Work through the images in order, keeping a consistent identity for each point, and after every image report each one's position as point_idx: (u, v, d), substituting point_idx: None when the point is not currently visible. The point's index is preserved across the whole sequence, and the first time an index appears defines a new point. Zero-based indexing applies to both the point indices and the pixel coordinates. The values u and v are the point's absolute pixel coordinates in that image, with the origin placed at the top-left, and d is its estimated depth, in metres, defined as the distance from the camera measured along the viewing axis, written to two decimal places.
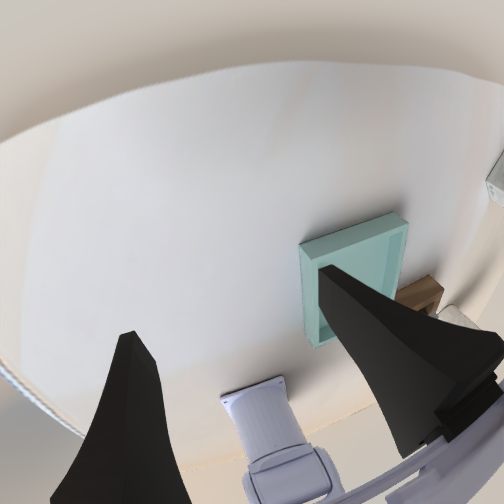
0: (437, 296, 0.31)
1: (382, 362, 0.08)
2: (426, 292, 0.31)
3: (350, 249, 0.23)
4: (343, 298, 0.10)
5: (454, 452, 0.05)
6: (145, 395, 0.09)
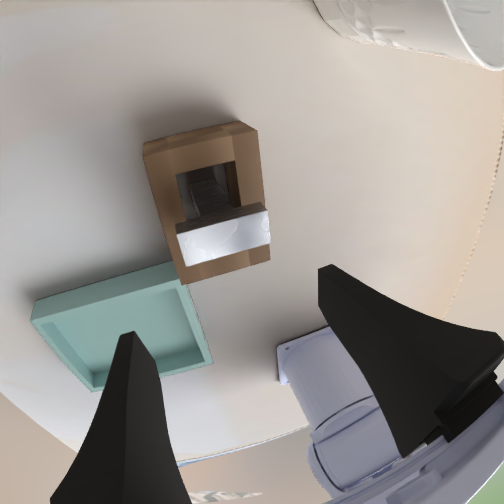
0: (162, 173, 0.14)
1: (382, 362, 0.08)
2: None
3: (75, 370, 0.20)
4: (343, 298, 0.10)
5: (454, 452, 0.05)
6: (145, 395, 0.09)
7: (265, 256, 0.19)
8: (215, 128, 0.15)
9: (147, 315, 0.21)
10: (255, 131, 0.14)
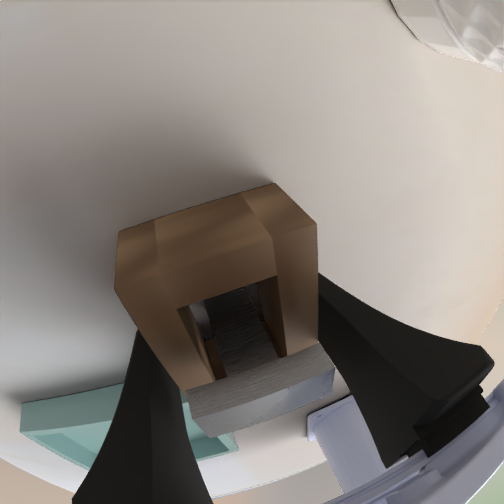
0: (152, 309, 0.08)
1: (362, 372, 0.08)
2: None
3: (82, 465, 0.15)
4: (324, 306, 0.10)
5: (454, 452, 0.05)
6: (165, 390, 0.09)
7: None
8: (236, 204, 0.10)
9: None
10: (313, 225, 0.08)
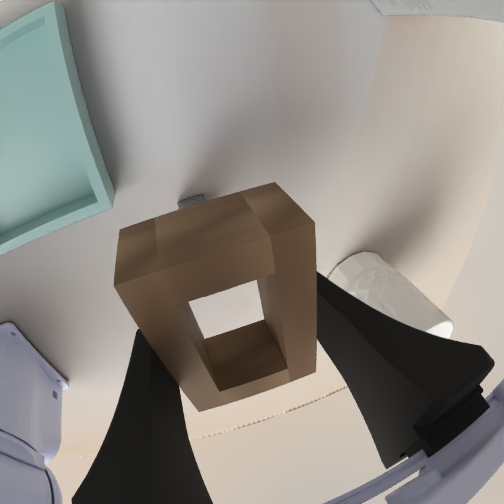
0: (152, 306, 0.08)
1: (363, 372, 0.08)
2: None
3: None
4: (324, 306, 0.10)
5: (454, 452, 0.05)
6: (165, 390, 0.09)
7: (310, 370, 0.13)
8: (236, 203, 0.10)
9: (37, 164, 0.13)
10: (311, 223, 0.08)
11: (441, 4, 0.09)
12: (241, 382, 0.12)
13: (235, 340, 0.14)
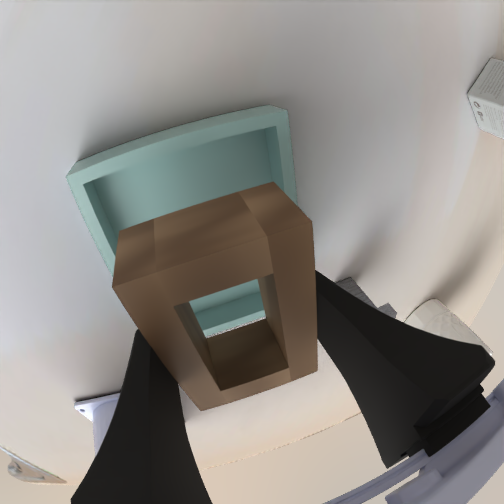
0: (150, 307, 0.08)
1: (363, 372, 0.08)
2: None
3: (144, 156, 0.11)
4: (325, 306, 0.10)
5: (454, 452, 0.05)
6: (164, 390, 0.09)
7: (311, 369, 0.13)
8: (234, 203, 0.10)
9: None
10: (309, 223, 0.08)
11: None
12: (243, 381, 0.12)
13: (236, 339, 0.14)
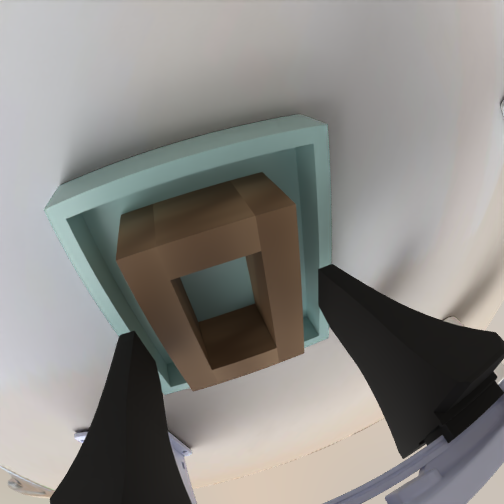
0: (149, 280, 0.09)
1: (382, 362, 0.08)
2: None
3: (144, 183, 0.09)
4: (343, 298, 0.10)
5: (454, 452, 0.05)
6: (145, 395, 0.09)
7: (298, 351, 0.14)
8: (226, 190, 0.11)
9: (247, 299, 0.15)
10: (293, 205, 0.09)
11: None
12: (233, 360, 0.13)
13: (227, 322, 0.15)
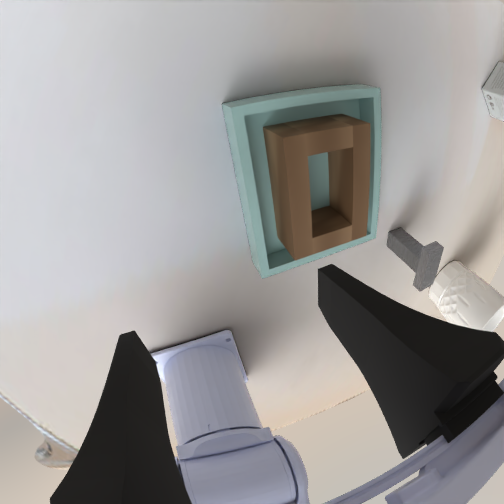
0: (297, 154, 0.15)
1: (382, 362, 0.08)
2: (281, 176, 0.17)
3: (293, 103, 0.15)
4: (343, 298, 0.10)
5: (454, 452, 0.05)
6: (145, 395, 0.09)
7: (363, 232, 0.20)
8: (327, 118, 0.17)
9: (325, 201, 0.21)
10: (368, 123, 0.15)
11: None
12: (325, 232, 0.19)
13: (314, 215, 0.21)
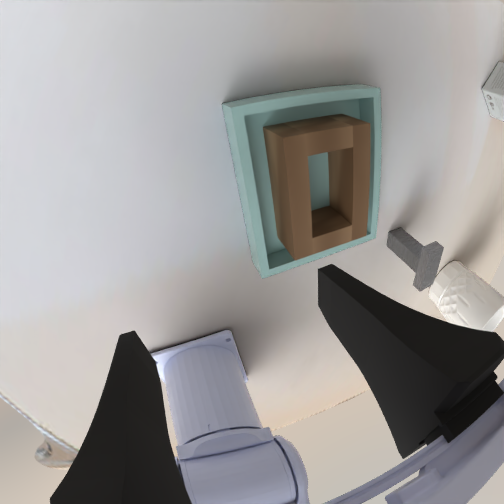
0: (297, 154, 0.15)
1: (382, 362, 0.08)
2: (281, 176, 0.17)
3: (293, 103, 0.15)
4: (343, 298, 0.10)
5: (454, 452, 0.05)
6: (145, 395, 0.09)
7: (363, 232, 0.20)
8: (327, 118, 0.17)
9: (325, 201, 0.21)
10: (368, 123, 0.15)
11: None
12: (325, 232, 0.19)
13: (314, 215, 0.21)
